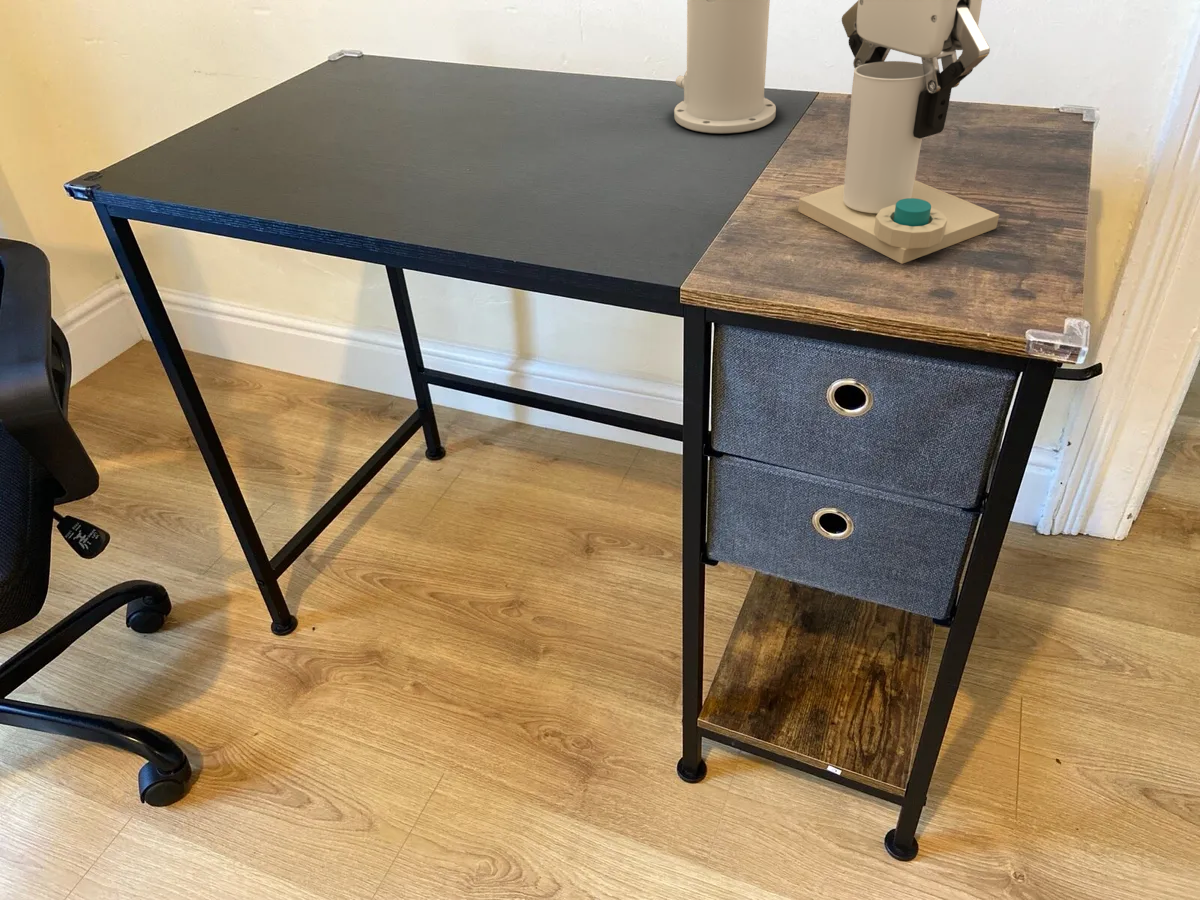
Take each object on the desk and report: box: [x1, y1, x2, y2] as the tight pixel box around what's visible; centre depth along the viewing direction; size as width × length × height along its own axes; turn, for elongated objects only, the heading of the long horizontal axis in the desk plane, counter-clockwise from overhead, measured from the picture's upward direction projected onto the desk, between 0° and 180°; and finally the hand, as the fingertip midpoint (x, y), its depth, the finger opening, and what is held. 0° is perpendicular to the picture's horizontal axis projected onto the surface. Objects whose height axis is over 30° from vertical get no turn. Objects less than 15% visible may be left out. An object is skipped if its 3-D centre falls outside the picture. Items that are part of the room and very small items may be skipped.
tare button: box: [893, 198, 931, 227], centre depth 78 cm, size 3×3×2 cm
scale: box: [797, 179, 1000, 265], centre depth 83 cm, size 15×12×3 cm
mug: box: [843, 60, 927, 213], centre depth 82 cm, size 10×7×12 cm, turn 149°
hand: (896, 121), depth 81 cm, fingers closed on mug, 6 cm apart
